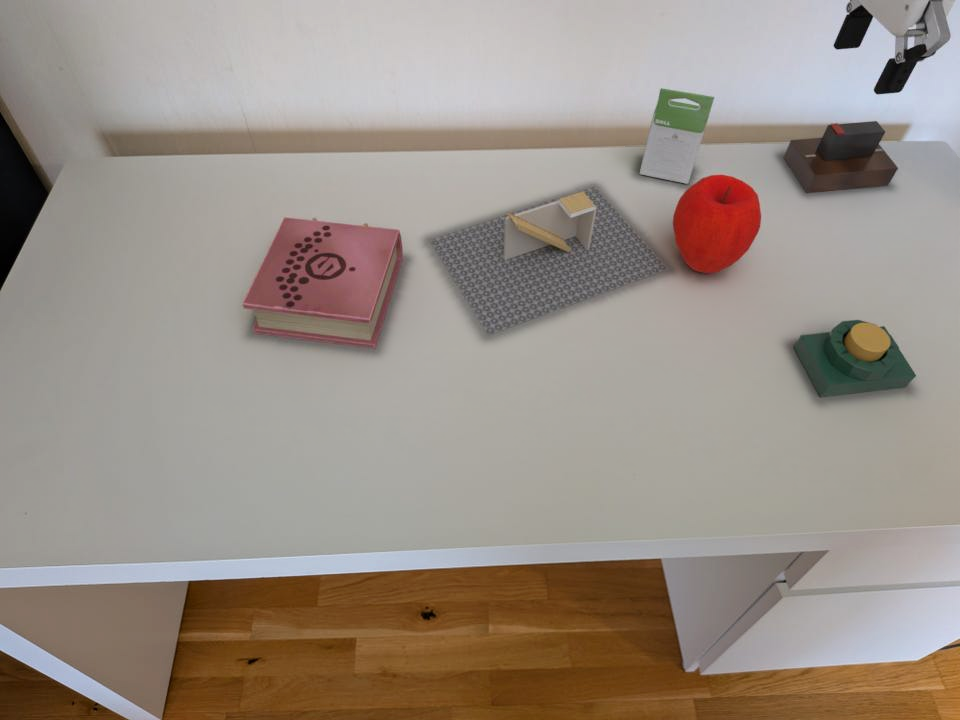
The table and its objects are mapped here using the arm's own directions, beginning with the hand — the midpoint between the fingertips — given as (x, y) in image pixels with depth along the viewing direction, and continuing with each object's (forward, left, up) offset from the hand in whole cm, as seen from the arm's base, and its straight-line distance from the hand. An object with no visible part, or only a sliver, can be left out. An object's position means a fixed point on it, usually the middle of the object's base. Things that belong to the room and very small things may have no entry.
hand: (865, 69), depth 80 cm
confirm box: (+8, +29, -18) cm, 35 cm away
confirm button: (+8, +29, -14) cm, 34 cm away
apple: (+19, +11, -18) cm, 29 cm away
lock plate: (-6, -4, -18) cm, 19 cm away
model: (+38, +7, -18) cm, 43 cm away
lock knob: (-6, -4, -15) cm, 16 cm away
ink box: (+18, -7, -18) cm, 26 cm away
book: (+65, +10, -18) cm, 68 cm away
